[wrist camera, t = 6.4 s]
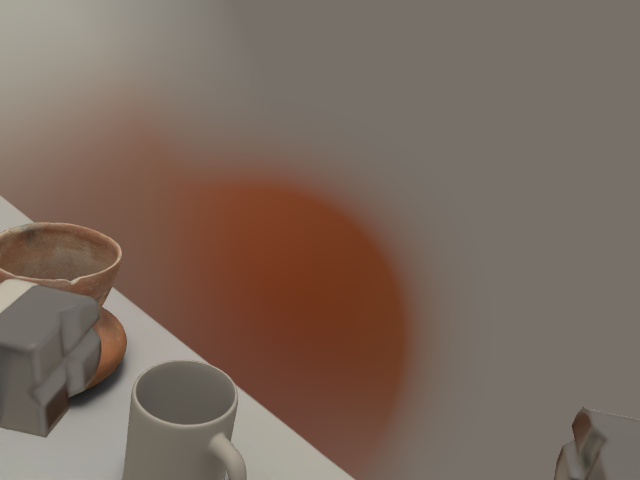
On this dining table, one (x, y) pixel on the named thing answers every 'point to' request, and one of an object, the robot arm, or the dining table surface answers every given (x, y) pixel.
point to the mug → (182, 424)
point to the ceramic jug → (69, 273)
